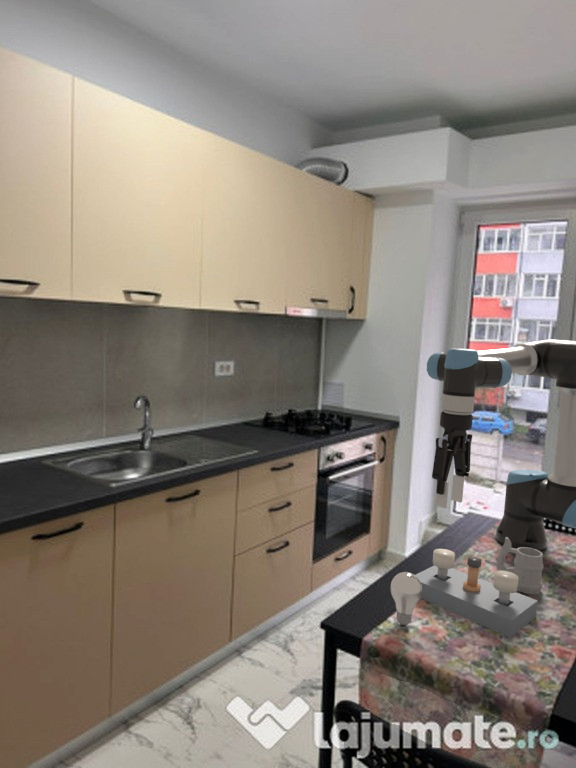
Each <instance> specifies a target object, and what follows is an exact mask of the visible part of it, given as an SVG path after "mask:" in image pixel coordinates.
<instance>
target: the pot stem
mask: <svg viewBox="0 0 576 768" xmlns="http://www.w3.org/2000/svg"><path fill="white" fill-rule="evenodd" d="M466 565H467V566H468V567H467V568H468V569H467V574H468V577H467V581H465V582H464V583H463V588H464V589H465V590H466V591H469V592H473V593H477V592H480V589H481V585H480V584H478V578H479V571H480V568H482V559H481V558H479V557H477V556H468V557H467V561H466Z"/></svg>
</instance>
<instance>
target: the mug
mask: <svg viewBox="0 0 576 768" xmlns="http://www.w3.org/2000/svg"><path fill="white" fill-rule="evenodd" d="M501 547H502V548H500V551H499V553H498V555H497V557H496V571H508V572H511V573H514V574H516V575H517V576H518V588H517V592H518V593H519V592H520V593H523V594H527V595H538V594H540V593H541V592H542V591H541V590H542V589H543V582H542V578H543V577H542V576H543V575H542V574H543V570H544V563H543V559H544V553H543V552H542V551H541V550H540V551H538V550H536V549H533V548H527V547H519V548H517V549H516V548H512V547H511V541H510V539H509V538H508V537H506V538H505V543H504V544H503V545H502V546H501ZM509 553H512V554H515V556H514V557H515V558H514V559H513V565H514V566H513V567H512V566H511V567H507V565H506V563H505V560H506V559H505V557H506V556H507V555H508V554H509Z"/></svg>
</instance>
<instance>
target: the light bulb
mask: <svg viewBox="0 0 576 768" xmlns="http://www.w3.org/2000/svg"><path fill="white" fill-rule="evenodd" d="M415 575H416V574H414V573H412V572H408V571H403V572H399V573H397V574H396V575H395V576H394V577H393V578H392V580H391V582H390V587H389V589H390V594H391V597H392V598H393V600H394V603H395V609H396V617H395V618H396V621H397V622H398V624H400V625H401V626H402V625H403V626H402V627H406V626H407V625H409V624H410V623H412V618H413V617H412V616H413V613H414V610H415V606H416V605H417V604H418V602H419V601H420V600H421V596H422V584H421V582H420V580H419V579H418V577H416V576H415Z"/></svg>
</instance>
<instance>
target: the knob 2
mask: <svg viewBox="0 0 576 768" xmlns="http://www.w3.org/2000/svg"><path fill="white" fill-rule="evenodd" d="M493 587H494V588H495V589H497V590H498V591H499V598H498V603H500V604H502V605H505V606H507V607H508V606H509V601H510V593H518V591H517V588H518V576H517V575H516V574H514V573H511V572H508V571H498V570H496V571H495V572H494V575H493Z"/></svg>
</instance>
